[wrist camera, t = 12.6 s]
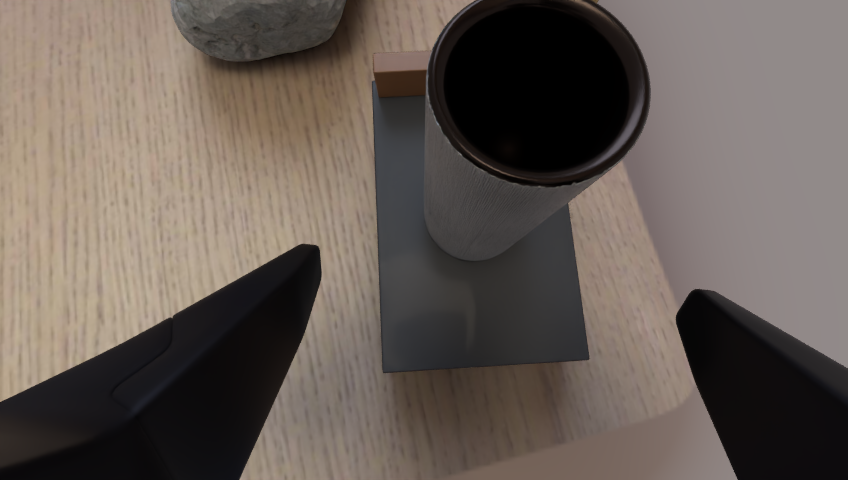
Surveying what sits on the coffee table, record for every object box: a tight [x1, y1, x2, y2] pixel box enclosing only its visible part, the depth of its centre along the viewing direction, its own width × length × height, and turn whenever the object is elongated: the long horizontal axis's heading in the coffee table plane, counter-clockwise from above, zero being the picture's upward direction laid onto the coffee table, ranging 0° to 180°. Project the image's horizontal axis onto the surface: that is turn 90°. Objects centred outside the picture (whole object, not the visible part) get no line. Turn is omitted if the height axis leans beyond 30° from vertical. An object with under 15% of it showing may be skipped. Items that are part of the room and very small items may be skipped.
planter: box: [424, 0, 651, 261], centre depth 13 cm, size 4×4×10 cm
